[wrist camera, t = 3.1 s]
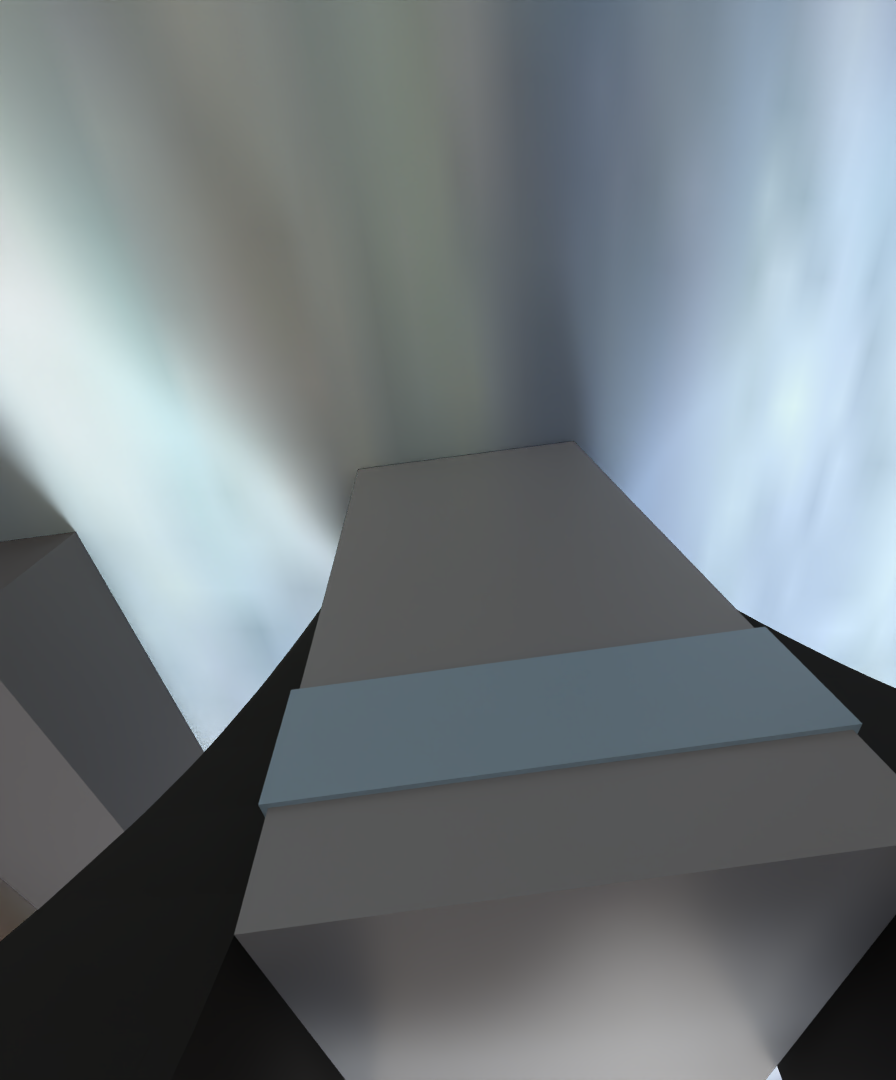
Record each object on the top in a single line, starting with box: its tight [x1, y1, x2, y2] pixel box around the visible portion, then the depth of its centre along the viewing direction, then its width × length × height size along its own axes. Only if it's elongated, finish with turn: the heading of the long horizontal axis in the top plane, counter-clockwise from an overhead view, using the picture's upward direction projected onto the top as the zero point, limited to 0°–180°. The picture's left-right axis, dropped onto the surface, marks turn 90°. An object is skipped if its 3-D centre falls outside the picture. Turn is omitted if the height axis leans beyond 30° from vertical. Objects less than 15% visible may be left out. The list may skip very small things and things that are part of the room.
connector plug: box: [234, 441, 896, 1080], centre depth 8 cm, size 9×4×7 cm, turn 6°
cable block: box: [0, 532, 204, 910], centre depth 10 cm, size 10×3×3 cm, turn 6°
